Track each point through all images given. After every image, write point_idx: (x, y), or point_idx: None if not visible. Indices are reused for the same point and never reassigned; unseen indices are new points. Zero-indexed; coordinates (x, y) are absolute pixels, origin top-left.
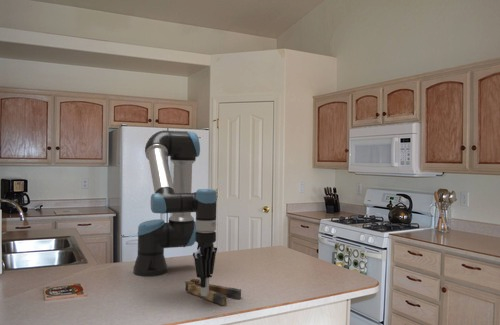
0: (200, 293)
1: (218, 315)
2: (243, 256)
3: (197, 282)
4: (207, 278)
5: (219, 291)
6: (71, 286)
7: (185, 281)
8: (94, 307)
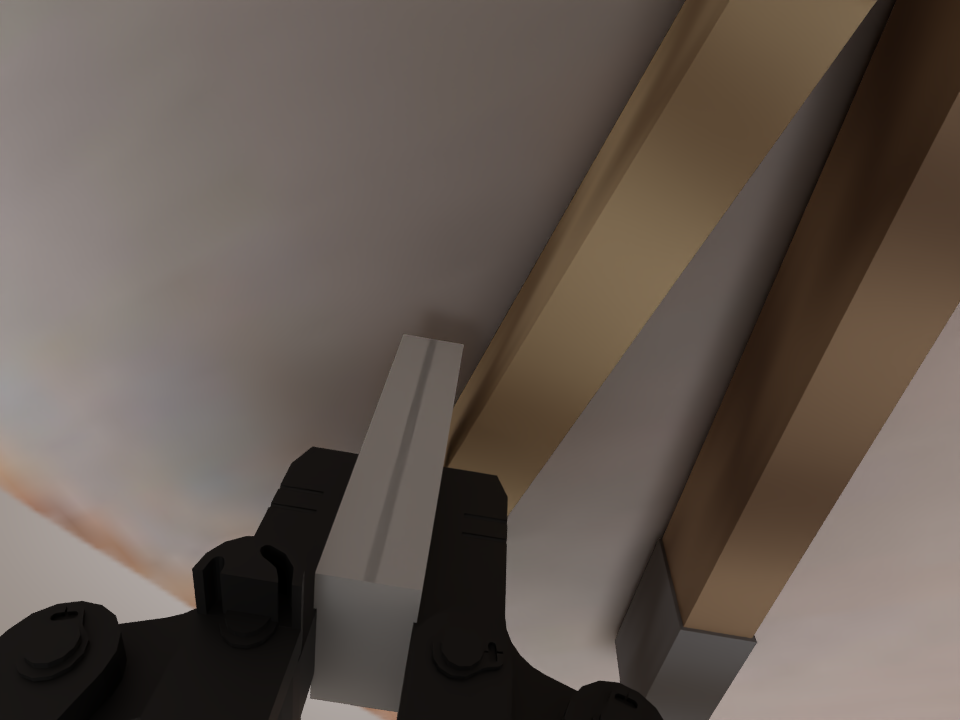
0: (546, 268)
1: (158, 578)
2: None
3: None
4: (333, 700)
5: (714, 492)
6: None
7: None
8: None
